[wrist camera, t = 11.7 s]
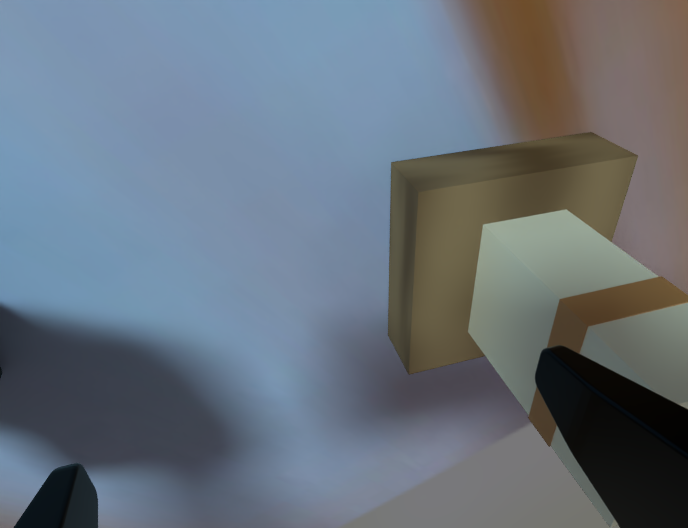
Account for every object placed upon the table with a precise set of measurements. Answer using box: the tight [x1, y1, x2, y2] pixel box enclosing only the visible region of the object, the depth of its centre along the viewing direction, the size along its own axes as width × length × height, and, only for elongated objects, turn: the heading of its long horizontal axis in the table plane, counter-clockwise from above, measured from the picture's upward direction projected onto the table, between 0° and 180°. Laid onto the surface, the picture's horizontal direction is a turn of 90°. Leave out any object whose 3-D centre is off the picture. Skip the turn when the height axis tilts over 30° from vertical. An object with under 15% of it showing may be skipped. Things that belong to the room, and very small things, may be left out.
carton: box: [468, 209, 688, 528], centre depth 20 cm, size 4×6×10 cm
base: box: [388, 132, 638, 374], centre depth 25 cm, size 10×10×3 cm
